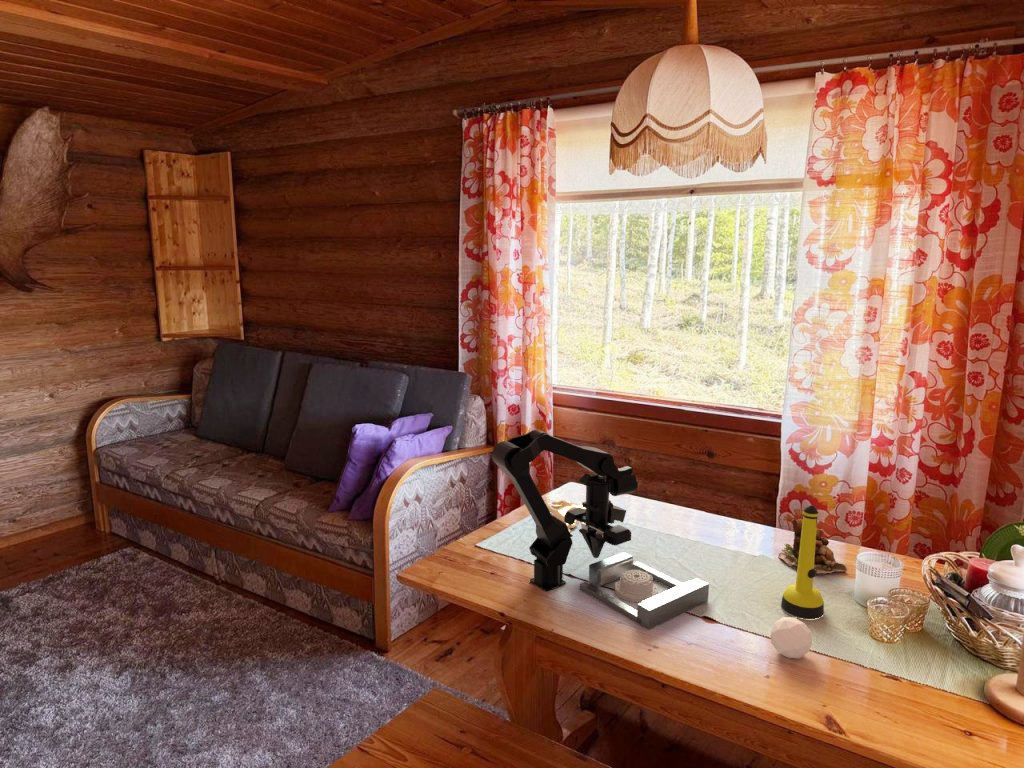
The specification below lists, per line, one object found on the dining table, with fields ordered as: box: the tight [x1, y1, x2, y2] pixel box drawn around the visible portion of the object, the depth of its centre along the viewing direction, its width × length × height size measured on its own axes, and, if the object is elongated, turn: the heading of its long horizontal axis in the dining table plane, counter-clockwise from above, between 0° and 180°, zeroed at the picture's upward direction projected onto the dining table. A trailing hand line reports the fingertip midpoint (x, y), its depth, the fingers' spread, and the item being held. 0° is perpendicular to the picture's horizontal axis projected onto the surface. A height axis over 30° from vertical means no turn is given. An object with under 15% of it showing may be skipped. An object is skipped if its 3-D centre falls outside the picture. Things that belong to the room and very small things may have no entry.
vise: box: [579, 561, 710, 631], centre depth 159 cm, size 20×22×4 cm
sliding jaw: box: [588, 551, 634, 588], centre depth 167 cm, size 12×4×5 cm, turn 126°
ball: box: [770, 616, 813, 659], centre depth 135 cm, size 8×8×8 cm
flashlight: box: [780, 504, 825, 619], centre depth 150 cm, size 25×9×9 cm
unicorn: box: [545, 499, 586, 532], centre depth 205 cm, size 20×4×17 cm
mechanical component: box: [614, 569, 659, 603], centre depth 160 cm, size 10×4×10 cm
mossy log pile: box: [778, 515, 848, 575], centre depth 174 cm, size 14×15×12 cm
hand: (596, 557), depth 171 cm, fingers closed
